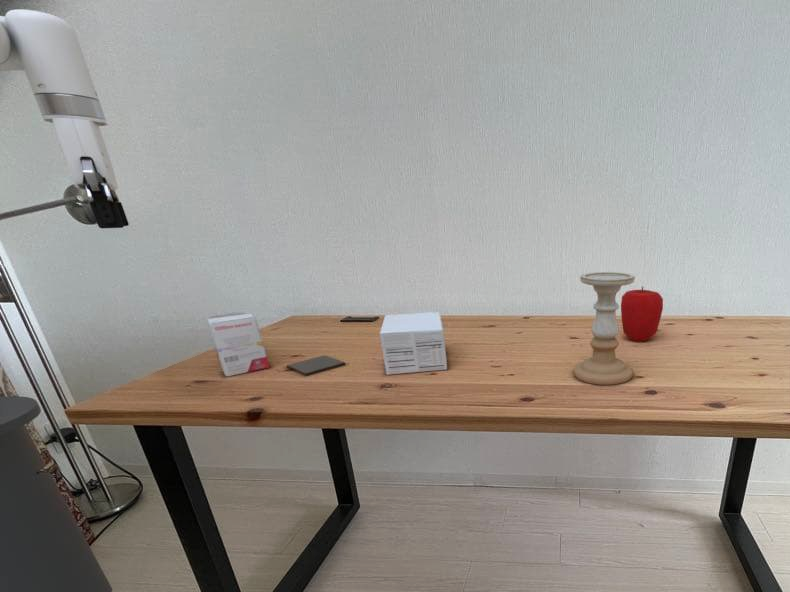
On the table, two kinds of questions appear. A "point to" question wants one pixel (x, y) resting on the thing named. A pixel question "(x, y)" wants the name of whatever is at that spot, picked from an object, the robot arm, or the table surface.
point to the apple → (641, 314)
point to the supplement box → (413, 343)
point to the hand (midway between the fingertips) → (115, 227)
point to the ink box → (238, 344)
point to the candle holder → (605, 332)
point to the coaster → (315, 365)
